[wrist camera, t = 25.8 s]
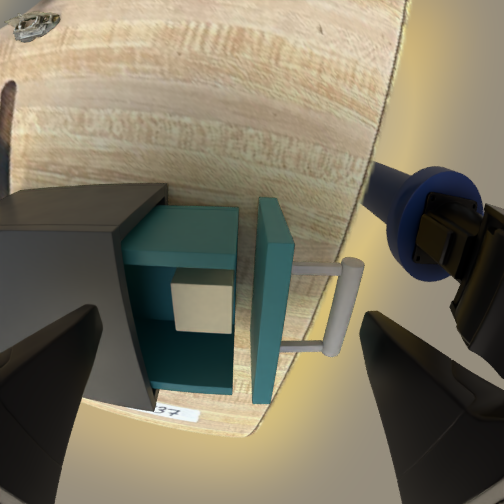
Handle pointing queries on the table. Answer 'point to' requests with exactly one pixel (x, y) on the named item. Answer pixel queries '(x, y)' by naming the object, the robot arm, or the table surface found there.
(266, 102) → the table surface
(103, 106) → the table surface
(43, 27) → the small metal piece
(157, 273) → the teal drawer
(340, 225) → the table surface
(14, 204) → the drawer cabinet
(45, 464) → the robot arm
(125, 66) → the table surface
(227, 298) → the block
